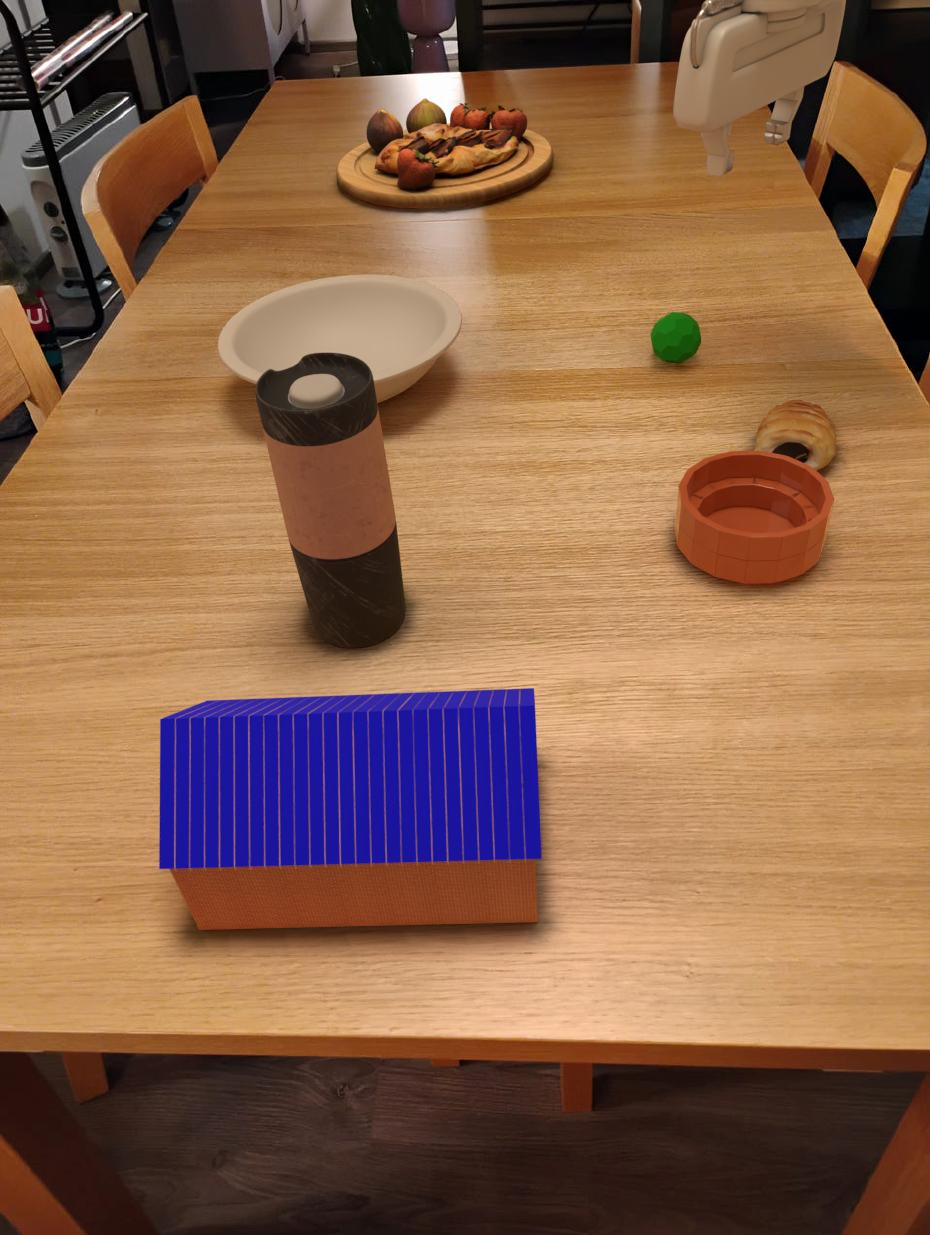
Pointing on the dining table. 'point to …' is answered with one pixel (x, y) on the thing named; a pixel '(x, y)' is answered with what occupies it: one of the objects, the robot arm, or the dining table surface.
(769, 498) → the dessert bowl
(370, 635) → the travel mug
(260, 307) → the soup bowl
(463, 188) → the wooden plate
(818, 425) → the pastry
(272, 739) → the house
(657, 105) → the dining table surface
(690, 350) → the polyhedron
